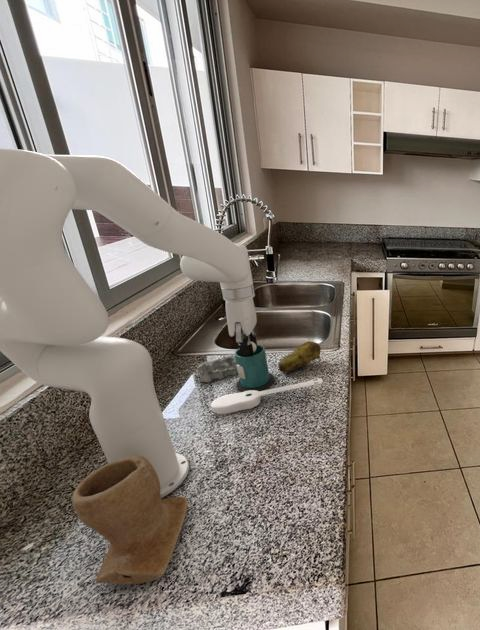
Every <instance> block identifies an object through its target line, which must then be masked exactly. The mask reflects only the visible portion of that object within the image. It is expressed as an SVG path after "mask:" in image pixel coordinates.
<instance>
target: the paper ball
mask: <svg viewBox="0 0 480 630" xmlns="http://www.w3.org/2000/svg"><path fill="white" fill-rule="evenodd" d="M250 343H252V346H253V351H254V352H255V351H256V348H257V347H256V344H255V343H254V342H251V341H250Z"/></svg>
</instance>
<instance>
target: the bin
mask: <svg viewBox="0 0 480 630" xmlns="http://www.w3.org/2000/svg"><path fill="white" fill-rule="evenodd" d="M257 346H258V349H257V350H256V351H255V352H254V356H249V357H241V353H240V348H239V347H238V348H237V349H236V350H235V351H234V356H235V359H236V364H237V370H238V372H237V374H238V378H239V380H240V383H241V385H242V386H243V387H244V388H256V387H260V386H262V385H264V384H266V383H267V382H268V381H269V380H270V376H269V373H270V371H269V365H268V360H267V354H266V348H265V346H264V345H262V344H257Z"/></svg>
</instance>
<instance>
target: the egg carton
mask: <svg viewBox="0 0 480 630" xmlns="http://www.w3.org/2000/svg"><path fill="white" fill-rule="evenodd" d="M196 369H197V375H198V376H199V378H200V382H201V383H210V382H212V381H213V380H216V379H220V380H221V379H224V378H225V377H226V376H229V375H230V376H236V375H237V374H238V370H237V364H236V359H235V354H231V355H229V356H227V357H223V358H218V359H214V360H211V361H204V362H203V361H202V362H201V363H200V364H198V366H197V367H196Z"/></svg>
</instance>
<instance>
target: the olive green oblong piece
mask: <svg viewBox="0 0 480 630" xmlns="http://www.w3.org/2000/svg"><path fill="white" fill-rule="evenodd" d="M321 351H322V349H321V345H320V344H319V343H318V342H315V341H306V342H303V343H302V344H301V345H298V346H297V348H295V349H294V350H293V351H292V352H291V353H290V354H287V355H286V356H285V357H283V358H282V359H280V361H279V362H278V370H279V371H280V372H282V373H291V372H292V371H295V370H298V369H301V368H304V367H305V366H307V365H309V364H310V363H311V362H313V361H316V360H318V359H320V357H321V356H320V355H321Z"/></svg>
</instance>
